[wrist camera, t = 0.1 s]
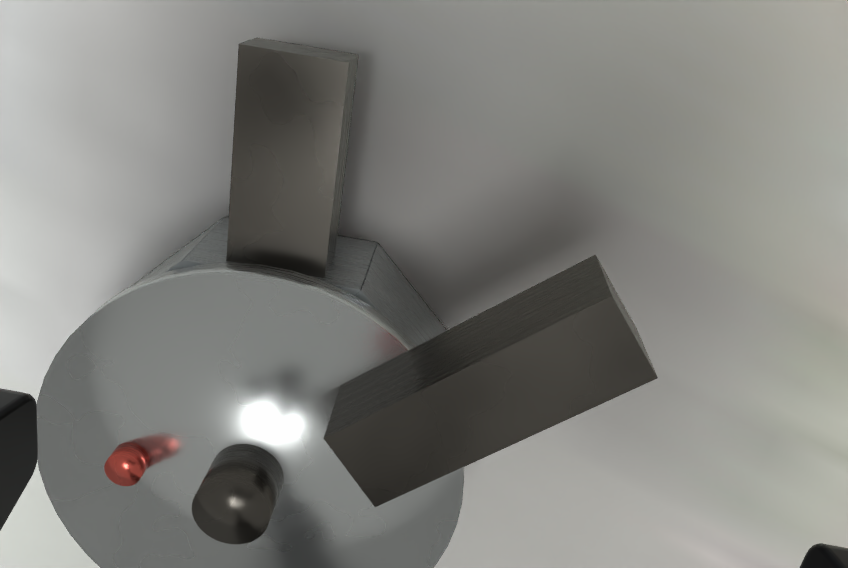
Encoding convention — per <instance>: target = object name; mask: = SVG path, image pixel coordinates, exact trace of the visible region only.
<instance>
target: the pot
mask: <svg viewBox="0 0 848 568" xmlns="http://www.w3.org/2000/svg"><path fill="white" fill-rule="evenodd" d="M357 64H358V54H352V53H346V52H340V51H334V50H328V49H322V48H316V47H310V46H304V45H298V44H293V43H287V42H281V41H275V40H269V39H263V38H254V39H251V40H248V41H246V42H243V43H240V44H239V51H238V68H237V85H236V102H235V120H234V137H233V154H232V171H231V189H230V206H229V217H223V218H222V219H221V220H219V221H218V222H217V223H215V224H214V225H213V226H211V227H210V228H209V229H207V230H206V231H205V232H203V233H202V234H201V235H199V236H198V237H197V238H195V239H194V240H193V241H191V242H190V243H189V244H187V245H186V246H185V247H183V248H182V249H181V250H179V251H178V252H177V253H175V254H174V255H173V256H171V257H170V258H169V259H167V260H166V261H164V262H163V263H162V264H160V265H159V266H158V267H156V268H155V269H154V270H152V271H151V272H150V273H148V274H147V275H146V276H144V277H143V278H142V279H140V280H139V281H138V282H136V283H135V284H137V283H139V282H141V281H143V280H145V279H147V278H150V277H153V276H156V275H159V274H162V273H165V272H168V271H171V270H175V269H180V268H185V267H191V266H196V265H201V264H218V263H243V264H258V265H265V266H271V267H276V268H281V269H287V270H292V271H295V272H298V273H301V274H304V275H307V276H311V277H314V278H317V279H320V280H322V281H325V282H327V283H329V284H331V285H334V286H336V287H338V288H340V289H342V290H345V291H347V292H349V293H351V294H352V295H354V296H356V297H357V298H359V299H360V300H362V301H364V302H365V303H367V304H369V305H370V306H372V307H374V308H375V309H376V310H378V311H379V312H380V313H382V314H383V315H384V316H385V317H387V318H388V319H389V320H390V321H392V322H393V323H394V324H396V325H397V326H398V327H399V328H400V329H401V330H402V331H403V332H404V333H405V334H406V335H407V336H408V337H409V338H410V339H411V340H412V341H413V342H414V343H415V344H416V345H417V346H418V345H420V344H422V343H424V342H426V341H428V340H430V339H432V338H434V337H436V336H438V335H439V334H441V333H443V332H445V331H447V330H446V329H445V328H444V327H443V325H442V324H441V323H440V321H439V320H438V319H437V318H436V316H435V315H434V314H433V313H432V311H431V310H430V309H429V307H428V306H427V305H426V304H425V302H424V301H423V300H422V298H421V297H420V296H419V295H418V293H417V292H416V291H415V290H414V288H413V287H412V286H411V284H410V283H409V282H408V281H407V279H406V278H405V277H404V275H403V274H402V273H401V272H400V270H399V269H398V268H397V267H396V265H395V264H394V263H393V261H392V260H391V259H390V258H389V256H388V255H387V254H386V252H385V251H384V250H383V249H382V247H381V246H380V245H379V244H378V243H377V242H372V241H366V240H360V239H354V238H348V237H342V236H337V234H338V226H339V217H340V209H341V200H342V192H343V183H344V175H345V166H346V158H347V149H348V140H349V132H350V123H351V115H352V106H353V98H354V89H355V81H356V72H357ZM135 284H134V285H135ZM132 286H133V285H132Z"/></svg>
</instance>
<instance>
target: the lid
mask: <svg viewBox="0 0 848 568" xmlns="http://www.w3.org/2000/svg"><path fill="white" fill-rule="evenodd" d="M657 378H658V377H657V375H656V373H655V370H654V368H653V366H652V363H651V361H650V359H649V356H648V354H647V352H646V349H645V347H644V345H643V342H642V340H641V338H640V335H639V333H638V331H637V328H636V327H635V325H634V323H633V321H632V319H631V318H630V316H629V314H628V312H627V310H626V309H625V307H624V305H623V303H622V301H621V300H620V298H619V296H618V294H617V292H616V291H615V289H614V287H613V285H612V283H611V281H610V280H609V278H608V276H607V274H606V272H605V271H604V269H603V267H602V265H601V263H600V262H599V260H598V258H597V256H596V255H594V256H592V257H590V258H588V259H586V260H584V261H582V262H580V263H578V264H576V265H574V266H572V267H570V268H568V269H566V270H565V271H563V272H561V273H559V274H557V275H555V276H553V277H551V278H549V279H547V280H545V281H543V282H541V283H539V284H537V285H535V286H533V287H531V288H529V289H527V290H525V291H523V292H522V293H520V294H518V295H516V296H514V297H512V298H510V299H508V300H506V301H504V302H502V303H500V304H498V305H496V306H494V307H492V308H490V309H488V310H486V311H484V312H482V313H480V314H479V315H477V316H475V317H473V318H471V319H469V320H467V321H465V322H463V323H461V324H459V325H457V326H455V327H453V328H451V329H449V330H447V331H445V332H443V333H441V334H439V335H438V336H436V337H434V338H432V339H430V340H428V341H426V342H424V343H422V344H420V345H418V346H417V345H416V344H415V343H414V342H413V341H412V340H411V339H410V338H409V337H408V336H407V335H406V334H405V333H404V332H403V331H402V330H401V329H400V328H399V327H398V326H397V325H396V324H394V323H393V322H392V321H390V320H389V319H388V318H387V317H385V316H384V315H383V314H382V313H380V312H379V311H378V310H376V309H375V308H374V307H372V306H370V305H369V304H367V303H365V302H364V301H362V300H360V299H359V298H357V297H356V296H354V295H352V294H351V293H349V292H347V291H345V290H342V289H340V288H338V287H336V286H334V285H331V284H329V283H327V282H325V281H322V280H320V279H317V278H314V277H311V276H307V275H304V274H301V273H298V272H295V271H292V270H287V269H281V268H276V267H271V266H265V265H258V264H243V263H218V264H201V265H196V266H191V267H185V268H180V269H175V270H171V271H168V272H165V273H162V274H159V275H156V276H153V277H150V278H147V279H145V280H143V281H141V282H139V283H137V284H135V285H133V286H131V287H129V288H127V289H125V290H123V291H122V292H120V293H119V294H118V295H116V296H115V297H113V298H112V299H111V300H109V301H108V302H106V303H105V304H104V305H102V306H101V307H100V308H99V309H98V310H97V311H96V312H95V313H93V314H92V315H91V316H90V317H89V318H88V319H87V320H86V321H85V322H84V323H83V324H82V325H81V326H80V327H79V328H78V329H77V330H76V331H75V332H74V333H73V334H72V335H71V336H70V337H69V338H68V339H67V341H66V342H65V344H64V345H63V346H62V348H61V349H60V350H59V352H58V353H57V354H56V356H55V358H54V360H53V362H52V364H51V366H50V368H49V370H48V372H47V374H46V376H45V378H44V381H43V384H42V387H41V390H40V394H39V397H38V400H37V432H38V458H37V460H38V466H39V471H40V474H41V477H42V480H43V483H44V486H45V489H46V492H47V494H48V496H49V498H50V500H51V502H52V504H53V507H54V509H55V511H56V513H57V515H58V516H59V518H60V519H61V521H62V522H63V524H64V525H65V527H66V529H67V530H68V532H69V533H70V535H71V536H72V537H73V538H74V540H75V541H76V542H77V543H78V544H79V546H80V547H81V548H82V549H83V550H84V552H85V553H86V554H87V555H88V556H89V557H90V558H91V559H92V560H93V561H94V562H95V563H96V564H97V565H98V566H99V567H100V568H434V566H435V565H436V564H437V562H438V561H439V559H440V557H441V556H442V554H443V553H444V551H445V549H446V548H447V546H448V544H449V542H450V539H451V537H452V534H453V532H454V530H455V527H456V525H457V521H458V517H459V513H460V509H461V505H462V495H463V483H464V466H467V465H469V464H471V463H473V462H475V461H477V460H480V459H482V458H484V457H486V456H488V455H491V454H493V453H495V452H497V451H499V450H501V449H504V448H506V447H508V446H510V445H512V444H515V443H517V442H519V441H521V440H523V439H525V438H528V437H530V436H532V435H534V434H536V433H539V432H541V431H543V430H545V429H547V428H550V427H552V426H554V425H556V424H558V423H560V422H563V421H565V420H567V419H569V418H571V417H574V416H576V415H578V414H580V413H582V412H584V411H587V410H589V409H591V408H593V407H595V406H598V405H600V404H602V403H604V402H606V401H608V400H611V399H613V398H615V397H617V396H619V395H622V394H624V393H626V392H628V391H630V390H632V389H635V388H637V387H639V386H641V385H643V384H646V383H648V382H650V381H652V380H654V379H657Z"/></svg>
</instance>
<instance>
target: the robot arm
mask: <svg viewBox="0 0 848 568" xmlns="http://www.w3.org/2000/svg"><path fill="white" fill-rule="evenodd" d="M37 458H38V432H37V405H36V401H35V399H34V398H33V397H32V396H31V395H30V394H27V393H22V392H17V391H11V390H6V389H0V530H1V529H2V527H3V525H4V523H5V522H6V520H7V518H8V516H9V515H10V513H11V511H12V509H13V508H14V506H15V504H16V503H17V501H18V499H19V497H20V496H21V494H22V492H23V490H24V489H25V487H26V485H27V483H28V482H29V480H30V478H31V476H32V474H33V472H34V470H35V467H36V463H37ZM800 568H848V548H843V547H838V546H832V545H827V544H816V545H813V546H812V547H811V548H810V549H809V550H808V552H807V554H806V555H805V558H804V560H803V562H802V564H801V566H800Z"/></svg>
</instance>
